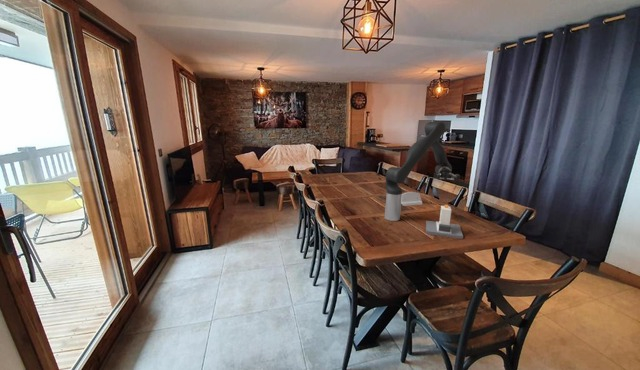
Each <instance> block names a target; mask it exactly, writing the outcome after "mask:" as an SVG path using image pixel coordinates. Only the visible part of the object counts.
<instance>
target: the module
mask: <svg viewBox="0 0 640 370" xmlns="http://www.w3.org/2000/svg"><path fill="white" fill-rule="evenodd" d="M451 215H452V208H451V206H449V204H444V205H441V206H440V214H439V221H438V222H439V224H444V225H449V224H451Z"/></svg>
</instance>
